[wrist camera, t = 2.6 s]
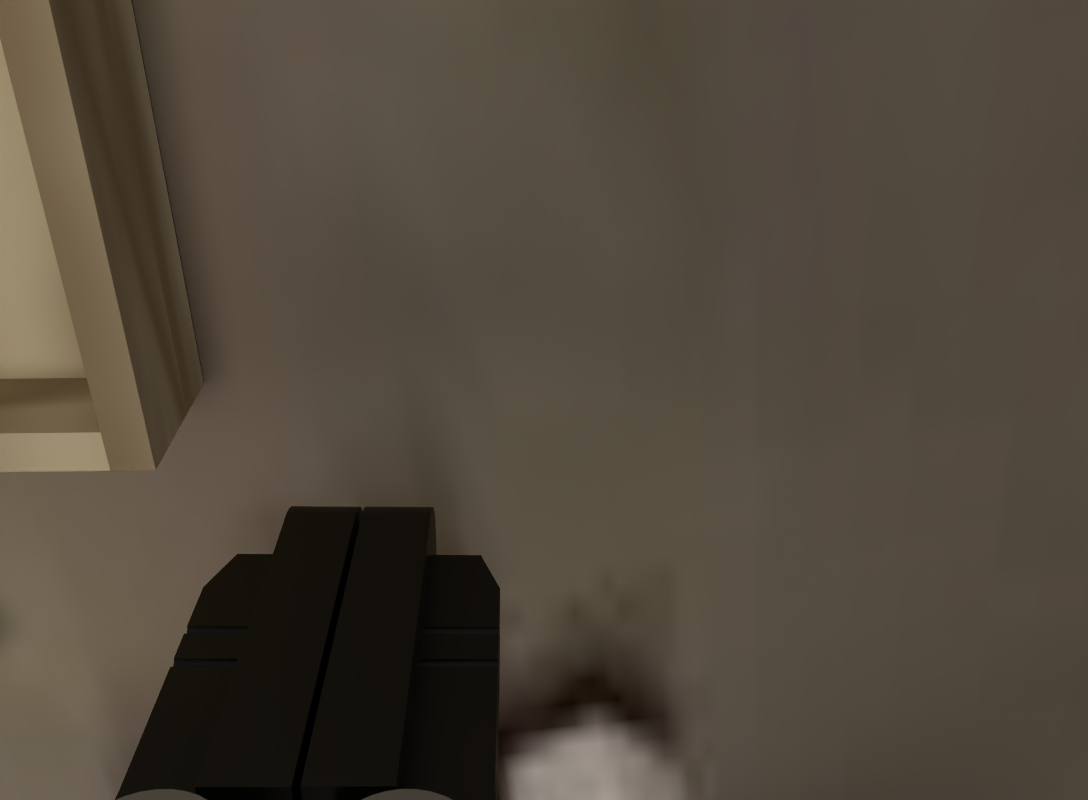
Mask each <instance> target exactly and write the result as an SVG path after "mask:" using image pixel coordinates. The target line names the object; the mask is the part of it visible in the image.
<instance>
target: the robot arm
mask: <svg viewBox="0 0 1088 800" xmlns="http://www.w3.org/2000/svg"><path fill="white" fill-rule="evenodd" d="M499 659H500V588H499V586H498V584H497V583H496V581H495V579H494V577H493V576H492V574H491V572H490V571H489V569H488V567H487V565H486V564H485V562H484V560H483V558H482V557H481V555H436V527H435V513H434V508H433V507H365V508H364V510H363V511H362V508H361V507H309V506H292V507H290V508H289V510H288V512H287V514H286V517H285V520H284V523H283V526H282V529H281V532H280V535H279V538H278V541H277V544H276V547H275V550H274V553H273V554H237V555H236V556H235V557H234V558H233V559H232V560H231V561H230V562H229V563H228V564H227V565H226V566H225V567H224V568H223V569H222V570H221V571H219V572H218V573H217V574H216V575H215V576H214V577H213V578H212V579H211V580H210V581H209V582H208V583H207V584H206V585H205V586H204V587H203V589H202V592H201V594H200V597H199V599H198V601H197V604H196V606H195V609H194V611H193V613H192V616H191V618H190V621H189V623H188V626H187V634H184V635H183V638H182V640H181V643H180V645H179V647H178V650H177V652H176V655H175V657H174V666H173V667H170V669H169V672H168V674H167V676H166V679H165V681H164V684H163V686H162V688H161V691H160V693H159V696H158V698H157V701H156V703H155V705H154V708H153V710H152V713H151V715H150V718H149V720H148V722H147V725H146V727H145V730H144V732H143V734H142V737H141V739H140V742H139V744H138V747H137V749H136V751H135V754H134V756H133V759H132V761H131V763H130V766H129V768H128V771H127V773H126V776H125V778H124V780H123V783H122V785H121V788H120V790H119V792H118V794H117V796H116V798H115V800H497V772H498V730H499Z"/></svg>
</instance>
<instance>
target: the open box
mask: <svg viewBox="0 0 1088 800" xmlns="http://www.w3.org/2000/svg"><path fill="white" fill-rule="evenodd" d="M203 384H204V382H203V377H202V372H201V366H200V361H199V356H198V350H197V345H196V340H195V335H194V329H193V324H192V319H191V313H190V308H189V303H188V298H187V292H186V287H185V282H184V276H183V271H182V266H181V261H180V255H179V250H178V245H177V239H176V234H175V229H174V223H173V218H172V213H171V208H170V202H169V197H168V192H167V186H166V181H165V176H164V171H163V165H162V160H161V155H160V149H159V144H158V139H157V134H156V128H155V123H154V118H153V112H152V107H151V102H150V96H149V91H148V86H147V81H146V75H145V70H144V65H143V59H142V54H141V49H140V44H139V38H138V33H137V28H136V22H135V17H134V12H133V7H132V1H131V0H0V472H42V471H126V470H156V469H157V467H158V465H159V463H160V461H161V460H162V458H163V456H164V454H165V452H166V451H167V449H168V447H169V445H170V443H171V442H172V440H173V438H174V436H175V434H176V432H177V431H178V429H179V427H180V425H181V423H182V422H183V420H184V418H185V416H186V414H187V413H188V411H189V409H190V407H191V405H192V404H193V402H194V400H195V398H196V396H197V395H198V393H199V391H200V389H201V387H202V386H203Z"/></svg>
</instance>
